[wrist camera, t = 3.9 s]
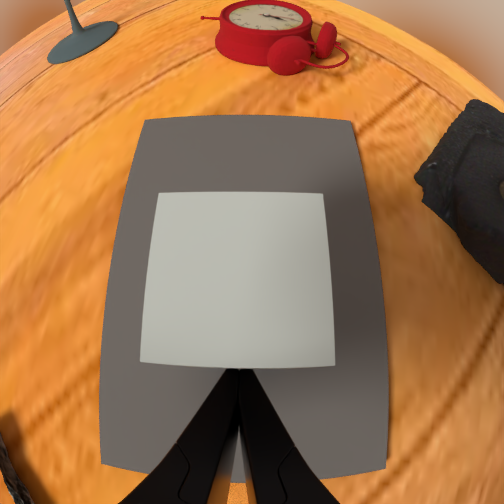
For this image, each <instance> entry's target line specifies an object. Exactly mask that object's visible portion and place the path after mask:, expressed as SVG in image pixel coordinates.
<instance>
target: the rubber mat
mask: <svg viewBox="0 0 504 504" xmlns="http://www.w3.org/2000/svg"><path fill="white" fill-rule="evenodd" d="M172 192H291V193H320V194H323V200H324V209H325V218H326V227H327V237H328V247H329V259H330V271H331V284H332V300H333V318H334V341H335V366H324V367H308V368H286V369H253V370H254V372H255V374H256V376H257V377H258V379H259V381H260V383H261V385H262V387H263V388H264V390H265V392H266V394H267V396H268V398H269V399H270V401H271V403H272V405H273V407H274V408H275V410H276V412H277V414H278V416H279V417H280V419H281V421H282V423H283V424H284V426H285V428H286V430H287V431H288V433H289V435H290V437H291V438H292V440H293V442H294V443H295V446H296V447H297V448H298V450H299V452H300V453H301V455H302V457H303V458H304V460H305V461H306V463H307V464H308V466H309V467H310V469H311V470H312V471H313V472H314V474H315V475H316V476H317V478H318V479H328V478H335V477H343V476H349V475H355V474H361V473H366V472H372V471H377V470H381V469H386V457H387V440H388V406H389V387H388V352H387V334H386V320H385V308H384V298H383V288H382V280H381V271H380V264H379V256H378V249H377V243H376V236H375V230H374V224H373V219H372V213H371V208H370V202H369V197H368V192H367V187H366V183H365V178H364V174H363V169H362V165H361V160H360V156H359V152H358V148H357V144H356V140H355V136H354V133H353V129H352V125H351V122H350V121H346V120H337V119H326V118H313V117H298V116H275V115H210V116H188V117H172V118H160V119H149V120H145V121H144V125H143V128H142V131H141V134H140V138H139V141H138V144H137V148H136V151H135V155H134V159H133V162H132V166H131V170H130V174H129V177H128V181H127V185H126V190H125V194H124V198H123V203H122V207H121V212H120V216H119V221H118V226H117V231H116V237H115V242H114V247H113V253H112V259H111V266H110V272H109V279H108V286H107V294H106V302H105V311H104V321H103V332H102V345H101V361H100V388H99V424H100V449H101V464H105V465H109V466H113V467H117V468H122V469H126V470H131V471H136V472H141V473H147V474H150V473H151V472H152V471H153V470H154V468H155V467H156V466H157V465H158V464H159V463H160V462H161V460H162V459H163V458H164V457H165V455H166V454H167V453H168V452H169V450H170V449H171V447H172V446H173V445H174V443H176V441H177V439H178V438H179V436H180V435H181V434H182V432H183V431H184V429H185V428H186V426H187V425H188V424H189V422H190V421H191V419H192V418H193V416H194V415H195V414H196V412H197V411H198V409H199V408H200V406H201V405H202V403H203V402H204V400H205V399H206V398H207V396H208V395H209V393H210V392H211V390H212V389H213V387H214V386H215V384H216V383H217V381H218V380H219V378H220V377H221V375H222V374H223V372H224V371H225V370H226V369H227V368H204V367H189V366H176V365H165V364H155V363H146V362H140V349H141V333H142V319H143V307H144V296H145V286H146V277H147V269H148V260H149V253H150V245H151V238H152V231H153V225H154V218H155V212H156V206H157V200H158V195H159V193H172ZM239 371H240V369H239ZM230 483H246V480H245V473H244V466H243V458H242V450H241V443H240V433H238V440H237V446H236V452H235V458H234V464H233V470H232V476H231V482H230Z"/></svg>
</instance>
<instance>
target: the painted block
mask: <svg viewBox="0 0 504 504" xmlns="http://www.w3.org/2000/svg"><path fill="white" fill-rule="evenodd" d="M140 362H146V363H155V364H165V365H176V366H189V367H204V368H237V369H286V368H308V367H324V366H335V341H334V318H333V300H332V284H331V271H330V259H329V247H328V237H327V227H326V218H325V209H324V200H323V194H320V193H291V192H172V193H159V195H158V200H157V206H156V212H155V218H154V225H153V231H152V238H151V245H150V253H149V260H148V269H147V277H146V286H145V296H144V307H143V319H142V333H141V349H140Z"/></svg>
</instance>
